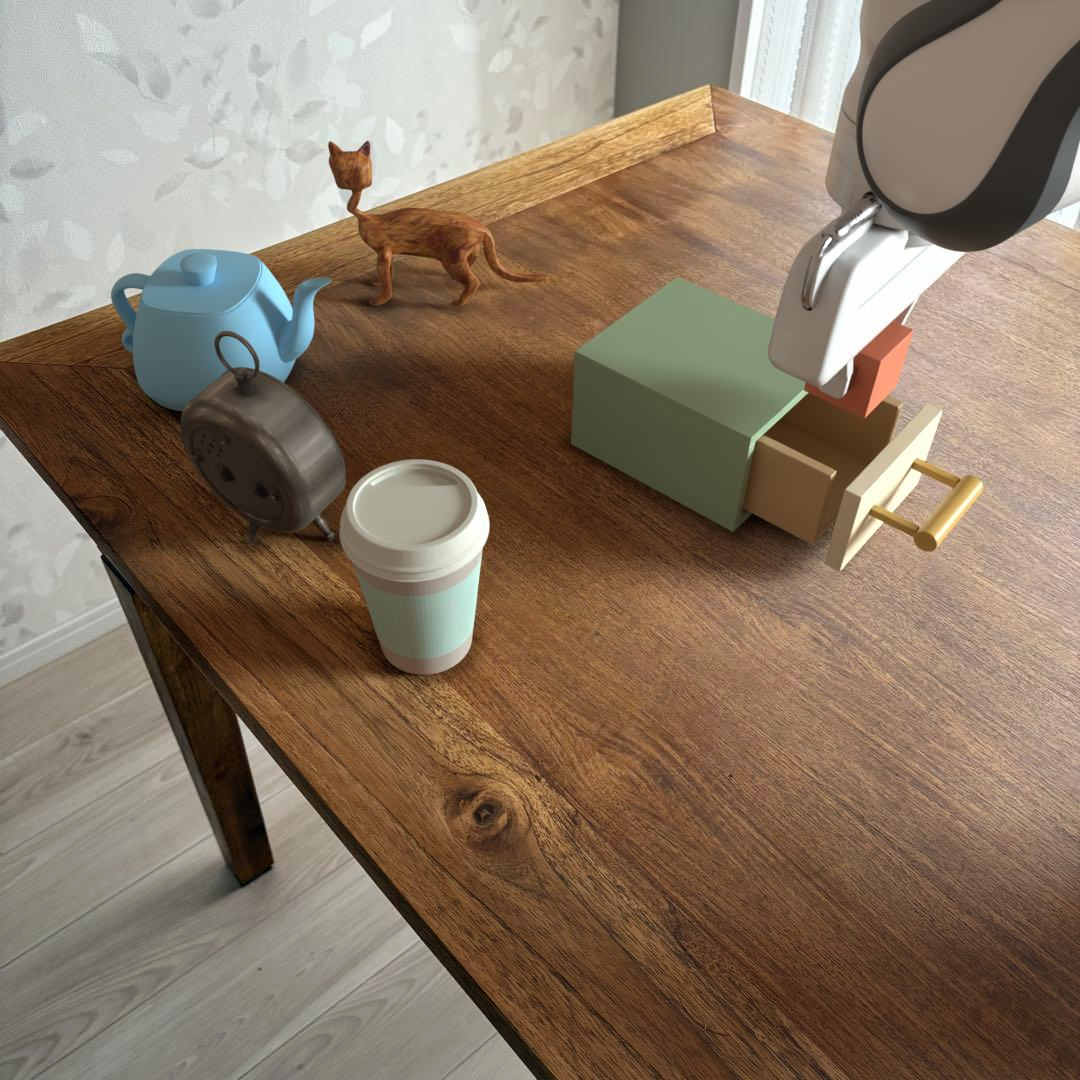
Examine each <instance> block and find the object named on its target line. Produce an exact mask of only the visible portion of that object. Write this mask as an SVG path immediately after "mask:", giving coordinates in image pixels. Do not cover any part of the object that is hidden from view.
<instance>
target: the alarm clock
mask: <svg viewBox="0 0 1080 1080" xmlns="http://www.w3.org/2000/svg"><path fill="white" fill-rule="evenodd" d="M225 336H230V337H233V338H235V339H238V340H239V341H240V342H241V343H242V344H243V345H244V346H245V347H246V348H247V349H248V350H249V352H250V354H251V355H252V357H253V359H254V363H255V369H252V368H246V367H236V368H232V367H231V366H230V365H229V364H228V362H227V361H226V360H225V358H224V357H223V355H222V353H221V351H220V348H219V342H220V339H221V338H222V337H225ZM214 345H215V350H216V353H217V355H218V358H219V359H220V361H221V362H222V363H223V364H224V366H225V367H226V368H227V369H228V370H227V371H225V372H224V373H223V374H222V375H221V376H220V377H219V378H218V379H217V380H215V381H214V382H213V383H212V384H210V385H209V386H208V387H207V388H205V389H204V390H203V391H202V392H200V393H199V394H198V395H197V396H196V397H194V398H193V399H192V400H191V401H190V402H189V403H188V404H187V405H186V406H185V408H184V410H183V411H182V413H181V417H180V435H181V439H182V443H183V446H184V449H185V451H186V453H187V456H188V458H189V459H190V462H191V464H192V465H193V466H194V469H195V470H196V472H197V473H198V475H199V476H200V478H201V479H202V480H203V481H204V483H205V484H206V485H207V486H208V488H209V489H211V491H212V492H213V493H214V494H215V495H216V496H217V497H218V498H219V499H220V500H221V501H222V502H223V503H224V504H225V505H226V506H227V507H229V508H230V509H231V510H233V511H234V512H236V513H237V514H238V515H239V516H241V517H243V519H245V520H246V521H247V522H248V534H247V536H248V537H247V538H248V542H250V543H251V544H254V543H255V542H256V541H257V537H258V531H259V528H263V529H266V530H270V531H273V532H277V533H293V532H294V533H295V532H298V531H300V530H304V529H305V528H307V527H308V526H309V525H311V523H313V524H314V526H315V527H316V528H317V529H318V530H319V531H321V532H322V533H323V534H324V538H325V540H327V541H328V542H330V541H333V540H334V538H335V537H336V536H335V533H334V532H332V531H331V529H330V527H329V524H328V523H327V521H326V520H325V519H324V518H323V516H322V515H321V513H322V512H323V511H324V510H325V509H326V508H328V507H329V506H330V504H332V503H333V501H334V500H336V499H337V498H338V497H339V496H340V495H341V494H342V492H343V491H344V489H345V485H346V481H347V470H346V464H345V459H344V456H343V453H342V450H341V448H340V446H339V444H338V442H337V440H336V438H335V436H334V435H333V433H332V431H331V430H330V428H329V427H328V425H327V424H326V422H325V421H324V420H323V418H322V417H321V416H320V414H319V413H318V412H317V410H315V409H314V408H313V407H312V405H310V403H308V401H307V400H306V399H305V398H303V397H302V396H301V395H300V394H299V393H298V392H297V391H296V390H295V389H294V388H292V387H290V386H289V385H288V384H287V383H285V382H284V383H283V382H282V381H280V380H279V379H277V378H275V377H273V376H271V375H269V374H267V373H265V372H262V371H259V370H260V369H259V365H260V362H259V359H258V356H257V354H256V352H255V350H254V349H253V347H252V346H251V345H250V343H249V342H248V341H247V340H246V339H245V338H243V337H242V336H240V335H238V334H237V333H235V332H231V331H222V332H220V333H219V334H218V335H217V336H216V337H215V340H214Z"/></svg>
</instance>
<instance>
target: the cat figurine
mask: <svg viewBox="0 0 1080 1080" xmlns="http://www.w3.org/2000/svg"><path fill="white" fill-rule="evenodd" d="M327 147H328V152H329V157H328V165H329V169H330V171H331V173H332V175H333V179H334V183H335V185H336V187H337V188H338V189H341V190H347V191H351V196H350V197H349V199H348V201H347V203H346V210H347V212H348V213H349V214H351V215H353V216H354V217H356V218H357V222H358V226H357V227H358V228H357V229H358V234H359V237H360V238H361V240H362V241H363V243H364V244H366V245H367V246H368V247H369V248H371V249H372V250H373V251H374V252H375V253H376V269H377V274H378V277H375V278H372V279H371V284H372V285H373V286H374V287H381V286H382V288H381V291H380V293H379V295H378V297H376V298H372V299H370V300H369V301H368V303H369V305H370V306H373V307H379V306H382V305H384V304H386V303H387V302H389V301H390V300H391V298H392V295H393V283H392V280H393V278H394V271H395V270H394V258H393V256H394V255H395V256H396V255H403V256H411V257H412V256H413V257H420V258H427V259H434V260H436V261H439V262H440V263H441V265H442V266H443V267H442V268H443V269H444V270H445V272H446V273H447V274H448V275H449V276H450V277H451V278H452V279H453V280H454V281H457V282H458V283H460V284H461V285H463V290H462V291H461V294H460V296H459V299H456V300H452V301H451V302H450V303H449V304H450V306H455V307H456V306H457V307H460V306H462V307H463V306H465V305H467V303H468V301H470V299H471V297H473V295H474V294H475V293H476V291H477V290H478V289H479V287H480V284H481V280H480V278H478V277H477V276H476V275H475V274H474V272H473V271H472V270H471V267H472V265H474V263H475V262H476V260H477V258H478V256H479V254H480V249H481V247H480V244H481V243H483V255H484V257H485V260H486V262H487V264H488V266H489V267H490V269H491V270H492V272H494V273H495V274H496V276H498V277H500V278H501V279H504V280H506V281H509V282H515V283H544V282H549V280H550V279H551V278H550V276H549V275H548V274H543V273H520V272H517V271H513V270H511V269H508V268H507V267H505V266H503V264H502V263H501V262H500V260H499V258H498V255H497V253H496V247H495V246H496V244H495V239H494V236H493V234H492V232H491V231H490V229H489V228H488V227H487V226H486V225H485V224H484V223H483V222H481V221H480V220H479V219H477V218H475V217H473V216H472V215H470V214H467V213H464V212H460V211H455V210H454V211H453V210H444V209H433V208H423V207H403V208H397V209H393V210H392V211H389V212H386V213H382V214H378V213H368V212H366V211H362V210H361V209H359V208H358V206H359V204H360V201H361V198H362V193H363V191H364V190H365V189H368V188H370V187H371V186H372V184H373V173H372V172H373V171H372V170H373V168H372V167H373V165H372V160H371V143H370V140H366V141H365V142H364V143H363V144H362V145H361V146H360V147H359V148H358V149H357V150H354V151H353V150H347V151H345V150H342V148H341V147H340V146H338V145H337V144H336V143H335V142H333V141H331V140H330V141H328V144H327Z"/></svg>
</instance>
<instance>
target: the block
mask: <svg viewBox="0 0 1080 1080" xmlns="http://www.w3.org/2000/svg"><path fill="white" fill-rule="evenodd" d="M914 331H915V330H914V329H912V328H911V327H908V326H906V325H901V324H898V323H896V322H894V321H892V322H891V323H890V324H889V325H888V326H887V327H886V328H884V329H883V330H882V331H881V332H880V333H879V334H878V335H877V336H876V337H875V338H874V339H873V340H872V341H871V342H870V343H868V344H867V345H866V346H865V347H864V348H863V349H862V350H861V351H860V352H859V353H858V354H857V355H856V356H855V357H854V358H853V365H854V366H856V367H859V368H858V371H857V375H856V378H855V382H854V386H853V387H852V388H851V389H850V390H849V391H848V392H847V393H846V394H845V395H844V396H843V397H842V398H839V399H837V398H834V397H832V396H830V395H827V394H825V393H823V392H821V391H820V390H819V388H818V386H814V385H811V384H808V383H805V387H804V391H806V392H808V393H810V394H813V395H815V396H817V397H819V398H821V399H823V400H825V401H828V402H830V403H832V404H834V405H836V406H838V407H841V408H843V409H845V410H847V411H849V412H851V413H854V414H856V415H858V416H860V417H862V418H866V417H867V416H868V415H869V414H870V412H871V411H872V410H873V409H874V408H875V407H876V406H877V405H878V404H879V403H880V402H881V401H882V400H883V399H884V398H885V397H886V396H887V395H888V396H889V394H891V393H892V391H894V390H895V389H896V388H897V386H898V383H899V380H900V377H901V374H902V370H903V367H904V363H905V361H906V358H907V353H908V351H909V348H910V344H911V340H912V338H913V335H914Z"/></svg>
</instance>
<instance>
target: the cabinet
mask: <svg viewBox="0 0 1080 1080" xmlns="http://www.w3.org/2000/svg"><path fill="white" fill-rule="evenodd" d="M774 321H775V318H774V317H770V316H768V315H767V314H764V313H761V312H759V311H757V310H755V309H752V308H750V307H748V306H745V305H743V304H741V303H739V302H736V301H734V300H732V299H730V298H727V297H725V296H722V295H720V294H718V293H715V292H713V291H711V290H708V289H706V288H704V287H701V286H699V285H697V284H695V283H692V282H690V281H688V280H686V279H683V278H681V277H679V276H676V277H675V278H674V279H672V280H671V281H669V282H667V283H666V284H664V286H662V287H661V288H660V289H658V290H657V291H655V292H654V293H653V294H651V295H650V296H649V297H647V298H646V299H644V300H643V301H642V302H640V303H638V305H636V306H634V308H631V309H630V310H629V311H628V312H626V313H625V314H623V315H622V316H621V317H620V318H618V319H617V320H616V321H613V323H611V324H610V325H609V326H607V327H605V329H603V330H601V331H600V332H599V333H597V334H596V335H594V336H593V337H592V338H590V339H589V340H588V341H586V342H585V343H583V344H582V345H581V346H579V347H578V348H577V349H575V350H574V353H573V354H574V355H573V356H574V357H573V358H574V359H573V360H574V362H573V386H572V390H573V391H572V411H571V412H572V413H571V415H572V416H571V437H570V444H571V445H572V446H574V447H576V448H577V449H579V450H581V451H583V452H585V453H587V454H589V455H590V456H592V457H595V458H596V459H598V460H600V461H601V462H603V463H605V464H608V465H609V466H610V467H612V468H614V469H616V470H618V471H619V472H621V473H624V474H626V475H627V476H629V477H631V478H633V479H634V480H636V481H638V482H640V483H642V484H644V485H646V486H648V487H649V488H651V489H653V490H655V491H657V492H658V493H660V494H662V495H664V496H665V497H668V498H670V499H672V500H673V501H675V502H676V503H679V504H681V505H682V506H684V507H686V508H688V509H689V510H691V511H693V512H695V513H697V514H699V515H700V516H703V517H705V518H706V519H708V520H710V521H711V522H714V523H716V524H717V525H720V526H721V527H722V528H725V529H727V530H729V531H731V532H732V533H734V532H735V531H737V530H738V528H739V527H740V526H741V525H742V524H744V522H745V521H747V520H748V519H749V518H750V517H751V516H752V514H753V513H751V512H749V511H747V510H745V509H743V503H744V498H745V493H746V488H747V482H748V477H749V472H750V467H751V462H752V456H753V451H754V446H755V442H756V441H757V440H758V439H759V438H760V437H761V436H762V435H763V434H764V433H765V432H766V431H768V430H769V429H770V428H771V427H772V426H773V425H774V424H775V423H776V422H777V421H778V420H779V419H781V418H782V417H783V416H784V415H785V414H786V413H787V412H788V411H789V410H790V409H791V408H792V407H793V406H795V405H796V404H797V403H798V402H799V401H800V400H801V399H802V398H803V397H804V396H805V395H806V394H808V392H806V391H804V387H805V383H806V382H804V381H801V380H799V379H797V378H795V377H792V376H790V375H788V374H786V373H784V372H782V371H780V370H778V369H776V368H775V367H774V366H773V365H772V363H771V362H770V360H769V357H768V346H769V341H770V337H771V333H772V329H773V325H774Z"/></svg>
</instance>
